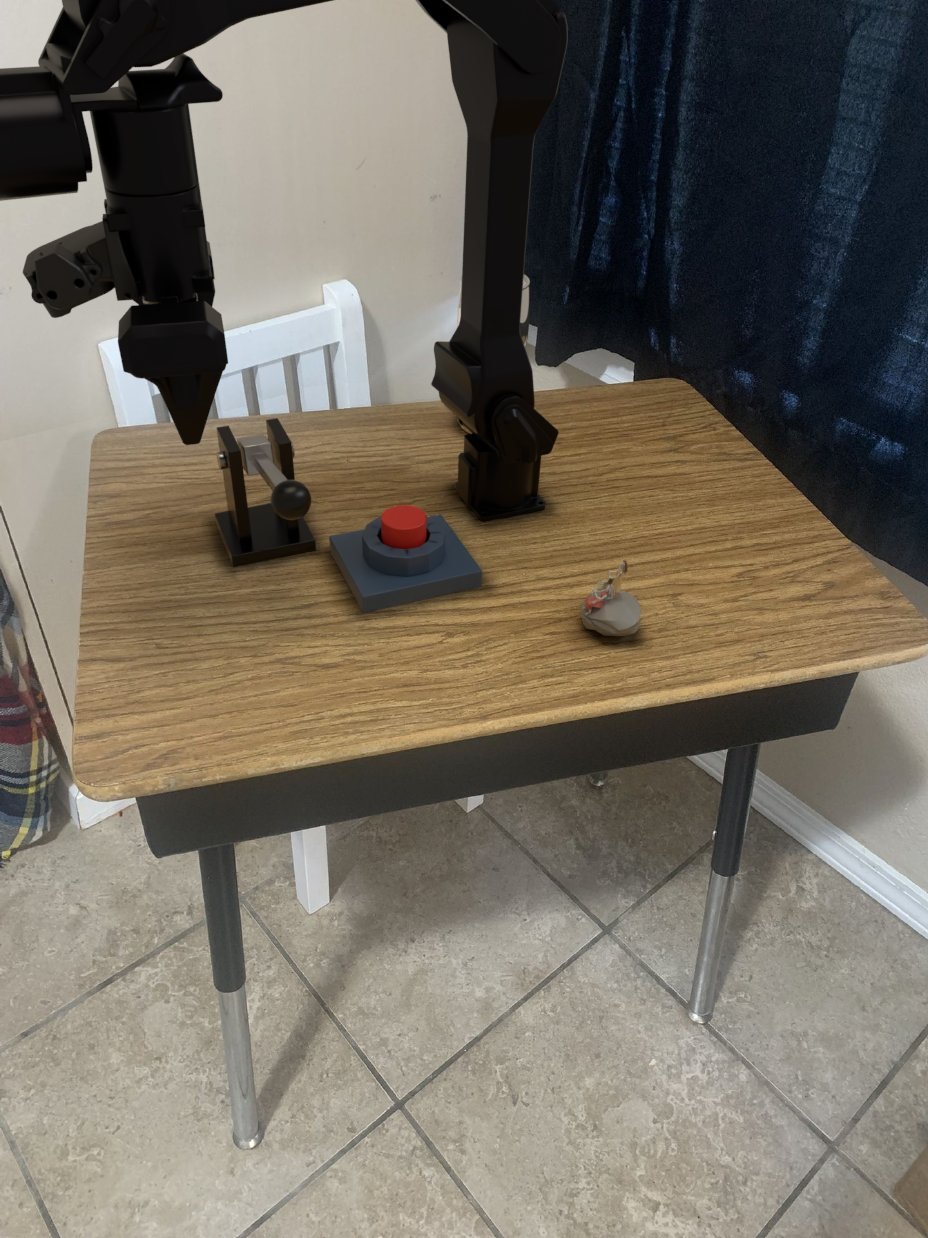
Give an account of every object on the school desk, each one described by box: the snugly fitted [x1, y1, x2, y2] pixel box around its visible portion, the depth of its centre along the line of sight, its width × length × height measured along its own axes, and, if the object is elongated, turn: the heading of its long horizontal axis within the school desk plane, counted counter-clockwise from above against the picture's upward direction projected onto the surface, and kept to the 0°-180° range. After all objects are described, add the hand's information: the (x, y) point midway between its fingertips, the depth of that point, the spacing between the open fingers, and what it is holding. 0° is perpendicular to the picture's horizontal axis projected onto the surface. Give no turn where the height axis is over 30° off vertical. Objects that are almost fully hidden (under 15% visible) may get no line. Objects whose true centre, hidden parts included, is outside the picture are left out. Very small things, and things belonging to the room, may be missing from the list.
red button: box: [380, 504, 428, 549], centre depth 78 cm, size 4×4×2 cm
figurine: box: [580, 559, 642, 637], centre depth 73 cm, size 5×4×6 cm
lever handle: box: [236, 433, 312, 520], centre depth 73 cm, size 15×3×3 cm, turn 23°
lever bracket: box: [214, 417, 317, 568], centre depth 80 cm, size 7×7×10 cm
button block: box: [328, 514, 483, 614], centre depth 79 cm, size 10×9×4 cm
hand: (189, 413), depth 70 cm, fingers open, 9 cm apart
